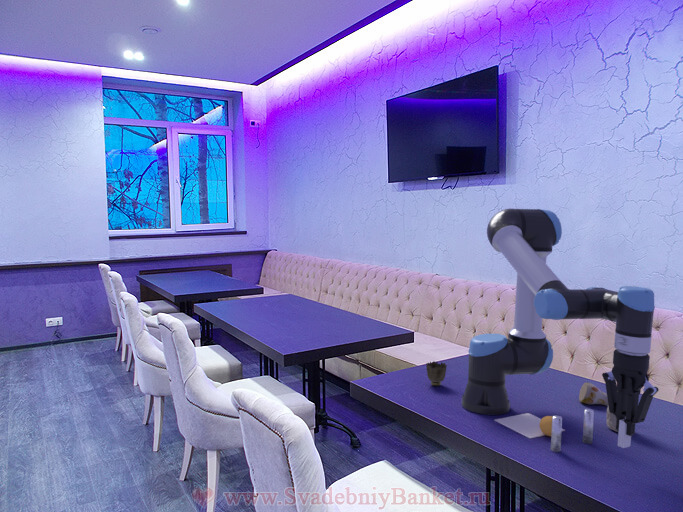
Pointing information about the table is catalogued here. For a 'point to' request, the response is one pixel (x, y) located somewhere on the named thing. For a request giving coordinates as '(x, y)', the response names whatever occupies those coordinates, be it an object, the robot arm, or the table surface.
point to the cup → (436, 372)
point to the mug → (592, 395)
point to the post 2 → (588, 426)
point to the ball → (546, 425)
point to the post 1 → (556, 433)
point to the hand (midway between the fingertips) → (623, 445)
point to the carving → (611, 420)
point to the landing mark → (523, 425)
